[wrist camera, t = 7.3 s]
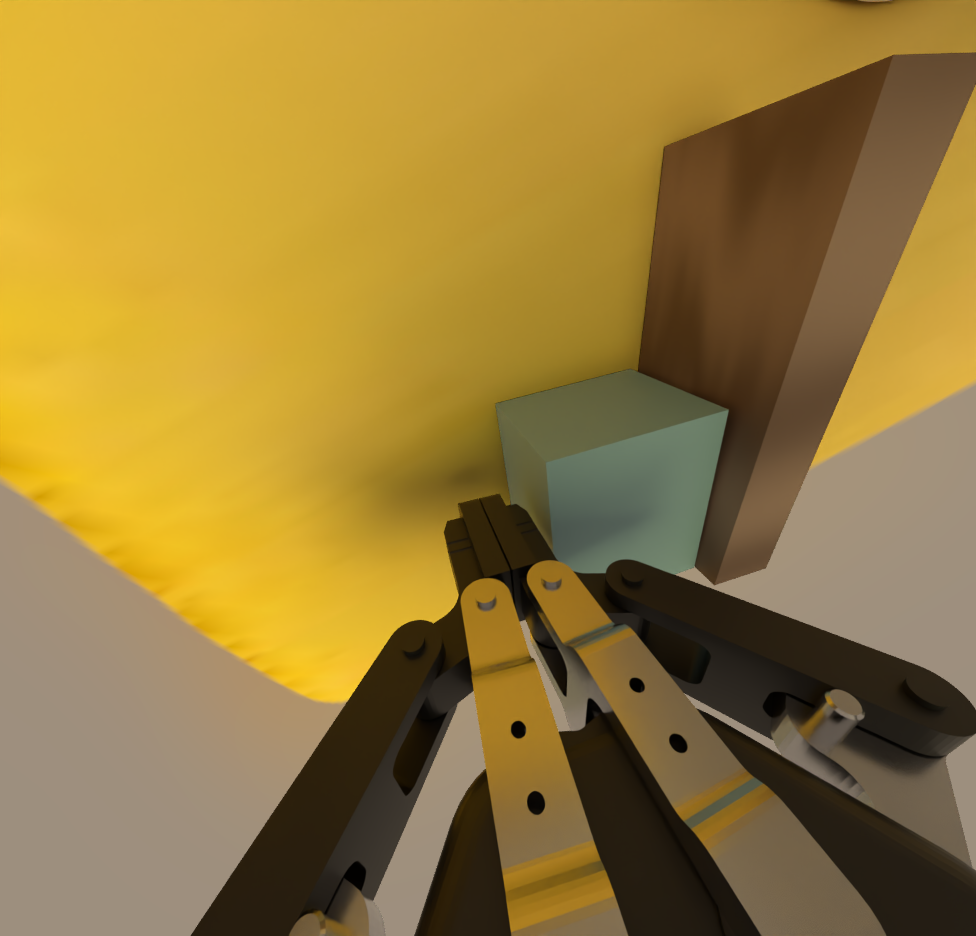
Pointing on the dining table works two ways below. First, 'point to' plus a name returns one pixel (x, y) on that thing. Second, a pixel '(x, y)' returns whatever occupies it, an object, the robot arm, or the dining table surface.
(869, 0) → the utensil holder
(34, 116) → the dining table surface
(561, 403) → the teal block
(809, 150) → the walnut board
